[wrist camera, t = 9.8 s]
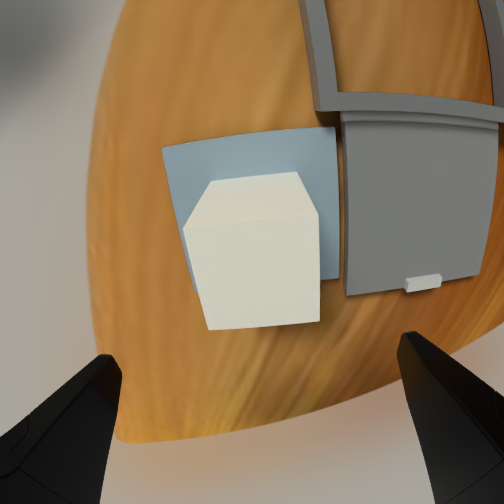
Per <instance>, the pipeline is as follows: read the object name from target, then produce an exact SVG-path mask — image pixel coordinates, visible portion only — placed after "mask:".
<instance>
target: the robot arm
mask: <svg viewBox="0 0 504 504" xmlns="http://www.w3.org/2000/svg"><path fill="white" fill-rule="evenodd" d="M397 360H398V364H399V368H400V372H401V377H402V381H403V386H404V390H405V395H406V400H407V403H408V406H409V409H410V413H411V416H412V419H413V422H414V425H415V428H416V432H417V435H418V438H419V441H420V445H421V449H422V452H423V456H424V459H425V463H426V467H427V471H428V475H429V479H430V483H431V487H432V491H433V496H434V500H435V504H504V397H503V396H502V395H501V394H499V393H498V392H497V391H495V390H494V389H493V388H491V387H490V386H489V385H488V384H486V383H485V382H484V381H482V380H481V379H480V378H478V377H477V376H476V375H475V374H473V373H472V372H471V371H469V370H468V369H467V368H465V367H464V366H463V365H461V364H460V363H459V362H457V361H456V360H454V359H453V358H452V357H450V356H449V355H448V354H446V353H445V352H444V351H442V350H441V349H440V348H438V347H437V346H436V345H434V344H433V343H431V342H430V341H429V340H427V339H426V338H425V337H423V336H422V335H420V334H419V333H418V332H416V331H410V332H405V333H403V334H402V335H401V339H400V343H399V346H398V350H397ZM121 383H122V372H121V369H120V368H119V366H118V364H117V363H116V361H115V359H114V358H113V356H112V355H109V354H100V355H99V356H97V357H96V358H95V359H94V360H92V361H91V362H90V363H89V364H88V365H86V366H85V367H84V368H83V369H82V370H81V371H79V372H78V373H77V374H76V375H74V376H73V377H72V378H71V379H70V380H69V381H67V382H66V383H65V384H64V385H63V386H61V387H60V388H59V389H58V390H57V391H55V392H54V393H53V394H52V395H51V396H50V397H48V398H47V399H46V400H45V401H44V402H43V403H41V404H40V405H39V406H38V407H37V408H35V409H34V410H33V411H32V412H31V413H30V415H27V416H26V417H25V418H24V419H23V420H21V422H19V423H18V424H17V425H15V426H14V427H13V428H12V429H11V430H9V431H8V432H7V433H5V434H4V435H2V436H1V437H0V504H100V498H101V491H102V486H103V480H104V474H105V469H106V464H107V458H108V454H109V449H110V444H111V440H112V435H113V431H114V426H115V422H116V417H117V411H118V404H119V397H120V390H121Z"/></svg>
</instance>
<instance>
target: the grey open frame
mask: <svg viewBox="0 0 504 504" xmlns="http://www.w3.org/2000/svg"><path fill="white" fill-rule="evenodd" d="M298 1H299V6H300V12H301V18H302V24H303V30H304V36H305V42H306V49H307V56H308V63H309V71H310V78H311V86H312V95H313V104H314V111H340V120H341V121H340V124H341V137H342V153H343V174H344V211H345V247H344V284H343V288H344V291H345V293H346V296H349V295H357V294H365V293H372V292H379V291H386V290H393V289H399V288H404V289H405V290H406V292H413V291H419V290H425V289H430V288H436V287H440V286H441V282H442V281H448V280H453V279H459V278H464V277H469V276H474V275H479V272H480V268H481V264H482V260H483V256H484V251H485V247H486V242H487V237H488V232H489V226H490V221H491V215H492V208H493V201H494V193H495V184H496V174H497V160H498V134H499V131H498V128H499V126H498V122H503V123H504V2H503V0H479V4H480V8H481V12H482V17H483V21H484V26H485V31H486V36H487V42H488V48H489V55H490V62H491V71H492V81H493V94H494V106H490V105H485V104H480V103H474V102H468V101H462V100H455V99H448V98H440V97H432V96H422V95H410V94H395V93H370V92H338V90H337V81H336V72H335V65H334V57H333V50H332V44H331V37H330V31H329V25H328V19H327V14H326V8H325V3H324V0H298Z"/></svg>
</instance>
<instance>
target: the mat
mask: <svg viewBox="0 0 504 504" xmlns="http://www.w3.org/2000/svg"><path fill="white" fill-rule="evenodd" d="M162 154H163V159H164V164H165V169H166V174H167V178H168V183H169V188H170V192H171V197H172V201H173V206H174V210H175V214H176V219H177V223H178V227H179V231H180V236H181V240H182V244H183V248H184V252H185V256H186V260H187V263H188V267H189V271H190V275H191V279H192V282H193V286H194V290H195V292H198V289H197V286H196V282H195V278H194V274H193V270H192V266H191V262H190V258H189V254H188V249H187V245H186V241H185V237H184V232H183V227H184V226H185V224H186V222H187V220H188V219H189V217H190V215H191V214H192V212H193V210H194V208H195V207H196V205H197V203H198V202H199V200H200V198H201V197H202V195H203V193H204V192H205V190H206V188H207V187H208V185H209V183H210V182H211V181H216V180H224V179H232V178H240V177H249V176H258V175H268V174H278V173H289V172H297V173H298V175H299V177H300V179H301V181H302V183H303V185H304V187H305V189H306V191H307V193H308V195H309V197H310V199H311V201H312V203H313V205H314V207H315V209H316V211H317V213H318V216H319V249H320V280H327V279H335V278H339V189H338V166H337V149H336V135H335V127H333V126H329V127H311V128H297V129H285V130H275V131H265V132H256V133H248V134H240V135H233V136H226V137H219V138H213V139H207V140H201V141H195V142H189V143H184V144H178V145H173V146H168V147H164V148H162Z"/></svg>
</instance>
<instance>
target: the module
mask: <svg viewBox="0 0 504 504" xmlns="http://www.w3.org/2000/svg"><path fill="white" fill-rule="evenodd" d="M183 232H184V237H185V241H186V245H187V249H188V254H189V258H190V262H191V266H192V270H193V274H194V278H195V282H196V286H197V289H198V293H199V297H200V301H201V304H202V308H203V312H204V316H205V319H206V323H207V326H208V330H220V329H237V328H252V327H265V326H277V325H288V324H298V323H308V322H317V321H320V249H319V216H318V213H317V211H316V209H315V207H314V205H313V203H312V201H311V199H310V197H309V195H308V193H307V191H306V189H305V187H304V185H303V183H302V181H301V179H300V177H299V175H298V173H297V172H289V173H278V174H268V175H258V176H249V177H240V178H232V179H224V180H216V181H211V182H210V183H209V185H208V187H207V188H206V190H205V192H204V193H203V195H202V197H201V198H200V200H199V202H198V203H197V205H196V207H195V208H194V210H193V212H192V214H191V215H190V217H189V219H188V220H187V222H186V224H185V226H184V227H183Z"/></svg>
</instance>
